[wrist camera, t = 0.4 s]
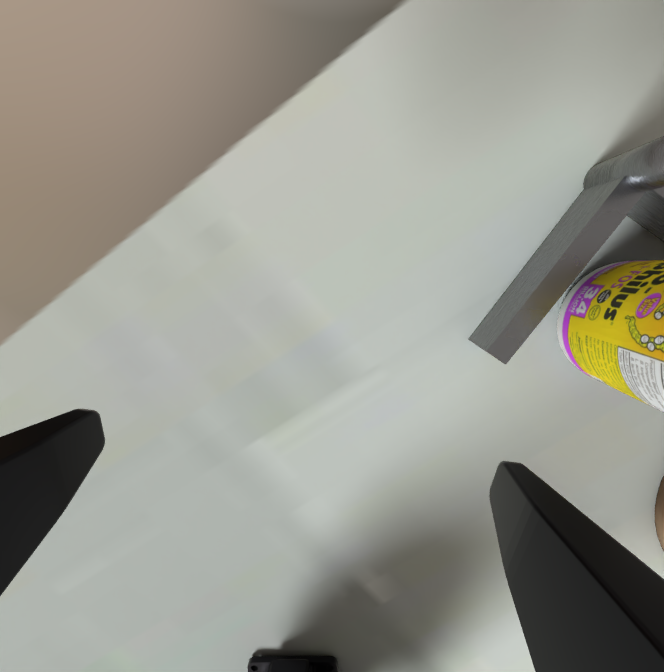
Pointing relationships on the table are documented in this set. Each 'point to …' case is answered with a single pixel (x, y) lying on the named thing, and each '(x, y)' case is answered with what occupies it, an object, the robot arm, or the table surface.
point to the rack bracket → (577, 243)
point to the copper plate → (660, 514)
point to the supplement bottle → (618, 328)
